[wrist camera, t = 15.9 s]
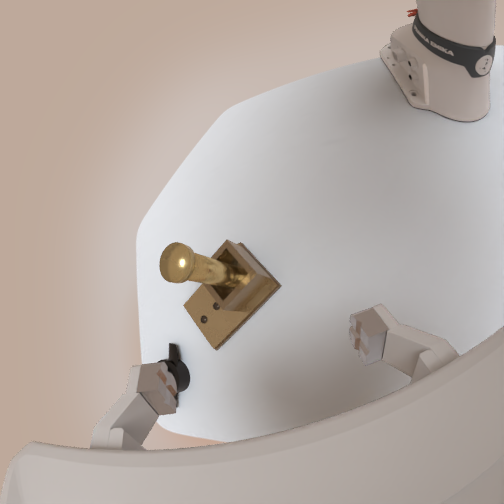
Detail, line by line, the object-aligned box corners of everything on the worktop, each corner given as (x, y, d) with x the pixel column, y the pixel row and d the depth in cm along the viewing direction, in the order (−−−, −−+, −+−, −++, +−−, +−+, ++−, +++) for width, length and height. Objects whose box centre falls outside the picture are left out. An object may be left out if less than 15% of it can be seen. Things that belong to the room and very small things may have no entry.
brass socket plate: (186, 305, 44) (162, 303, 39) (242, 243, 42) (221, 232, 37) (217, 349, 40) (194, 352, 35) (281, 285, 38) (264, 280, 33)
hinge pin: (226, 271, 41) (156, 252, 29) (249, 260, 40) (184, 235, 27) (233, 297, 40) (163, 287, 27) (258, 287, 38) (192, 273, 26)
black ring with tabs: (206, 370, 41) (195, 372, 38) (179, 409, 41) (167, 413, 39) (176, 338, 44) (164, 338, 42) (152, 378, 45) (140, 380, 42)
